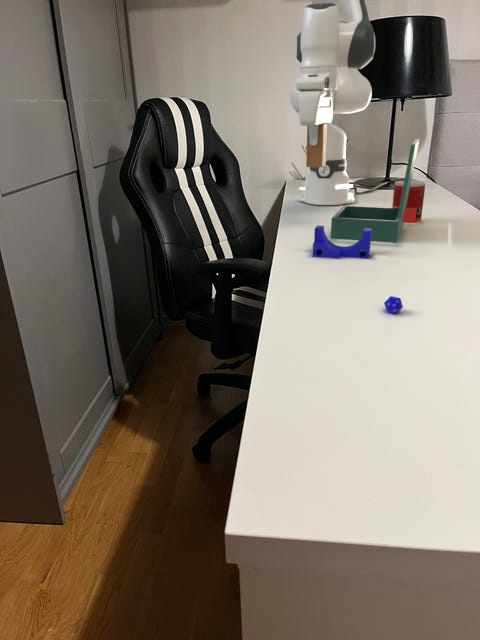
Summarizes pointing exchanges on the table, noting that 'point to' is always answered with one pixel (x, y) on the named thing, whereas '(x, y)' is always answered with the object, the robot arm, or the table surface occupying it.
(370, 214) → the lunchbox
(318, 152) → the carton
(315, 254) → the blue curved bracket
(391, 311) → the die
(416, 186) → the canned food
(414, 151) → the lid
